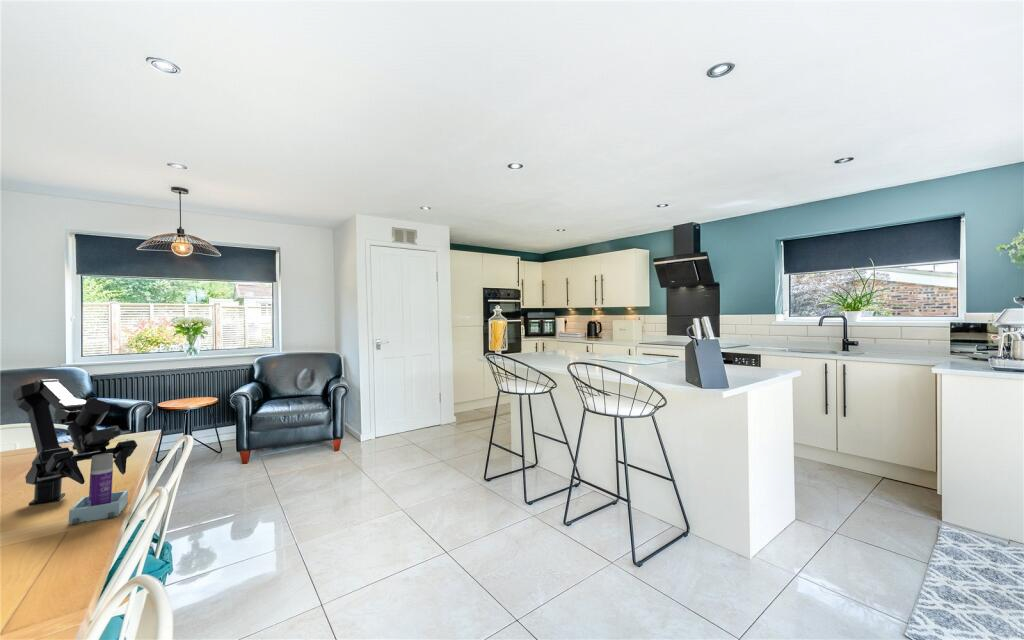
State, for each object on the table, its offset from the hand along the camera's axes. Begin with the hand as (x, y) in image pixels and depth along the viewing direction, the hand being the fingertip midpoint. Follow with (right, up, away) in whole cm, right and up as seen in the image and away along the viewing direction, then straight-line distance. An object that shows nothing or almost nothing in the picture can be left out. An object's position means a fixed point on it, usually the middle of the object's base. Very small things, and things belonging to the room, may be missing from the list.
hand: (104, 478), depth 120 cm
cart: (-1, -10, 0) cm, 10 cm away
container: (-1, -9, 0) cm, 9 cm away
